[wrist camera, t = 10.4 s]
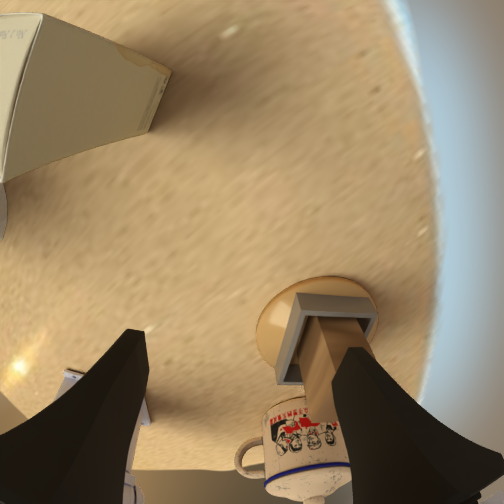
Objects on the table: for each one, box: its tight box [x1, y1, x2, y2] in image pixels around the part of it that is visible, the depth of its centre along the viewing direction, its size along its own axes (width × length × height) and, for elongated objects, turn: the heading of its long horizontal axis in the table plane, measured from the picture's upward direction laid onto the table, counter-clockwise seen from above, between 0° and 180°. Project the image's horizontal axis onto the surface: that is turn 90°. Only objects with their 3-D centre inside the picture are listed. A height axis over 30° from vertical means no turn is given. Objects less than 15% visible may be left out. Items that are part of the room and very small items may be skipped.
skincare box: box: [0, 12, 172, 183], centre depth 9 cm, size 6×4×12 cm
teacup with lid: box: [234, 397, 352, 504], centre depth 24 cm, size 12×9×12 cm
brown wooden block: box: [296, 315, 376, 423], centre depth 19 cm, size 3×5×7 cm, turn 172°
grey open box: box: [256, 276, 378, 385], centre depth 21 cm, size 10×10×3 cm
